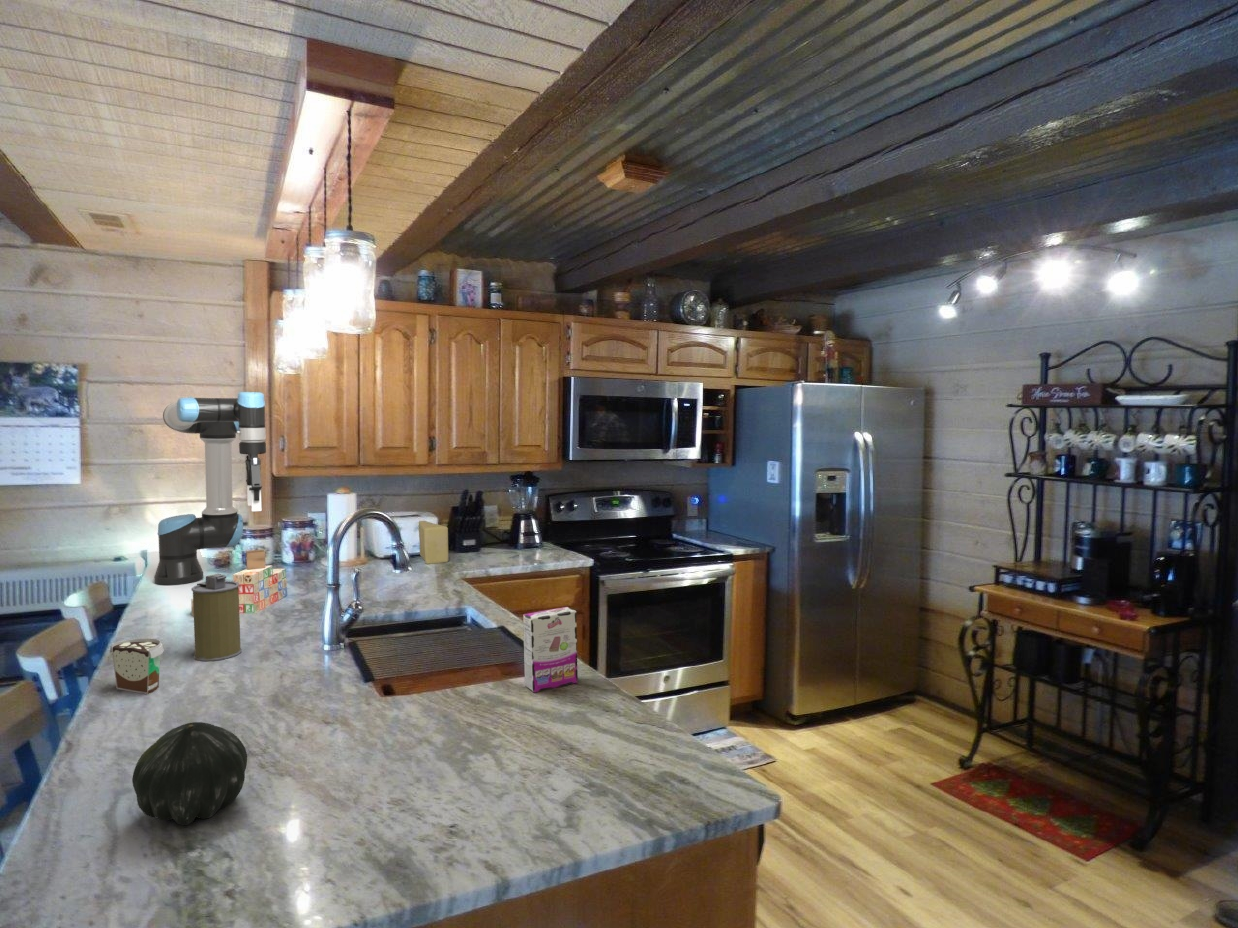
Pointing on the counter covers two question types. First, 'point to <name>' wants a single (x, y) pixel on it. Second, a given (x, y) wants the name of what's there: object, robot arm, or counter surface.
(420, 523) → the cheese
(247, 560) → the walnut cube
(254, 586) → the stack of blocks
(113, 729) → the counter surface
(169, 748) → the squash
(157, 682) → the food container
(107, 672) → the counter surface
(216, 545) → the robot arm
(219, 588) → the canister
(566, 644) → the candy bar box
